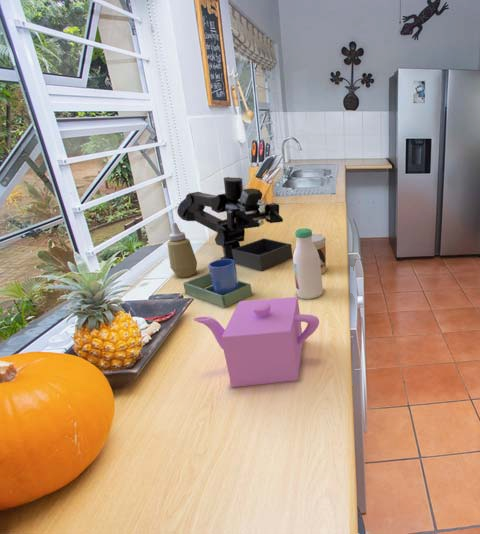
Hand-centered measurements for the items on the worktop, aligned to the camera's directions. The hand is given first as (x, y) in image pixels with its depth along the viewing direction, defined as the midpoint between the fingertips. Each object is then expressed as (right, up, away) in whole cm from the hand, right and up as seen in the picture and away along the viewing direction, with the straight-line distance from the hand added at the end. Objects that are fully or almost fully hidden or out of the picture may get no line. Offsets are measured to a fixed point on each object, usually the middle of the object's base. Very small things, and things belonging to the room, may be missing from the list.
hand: (271, 222), depth 125 cm
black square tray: (-9, -12, +18) cm, 23 cm away
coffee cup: (+12, -16, +8) cm, 22 cm away
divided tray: (-13, -23, -8) cm, 27 cm away
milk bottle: (+15, -23, -8) cm, 28 cm away
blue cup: (-9, -23, -10) cm, 27 cm away
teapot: (+12, -36, -39) cm, 54 cm away
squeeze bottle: (-31, -17, +6) cm, 36 cm away
